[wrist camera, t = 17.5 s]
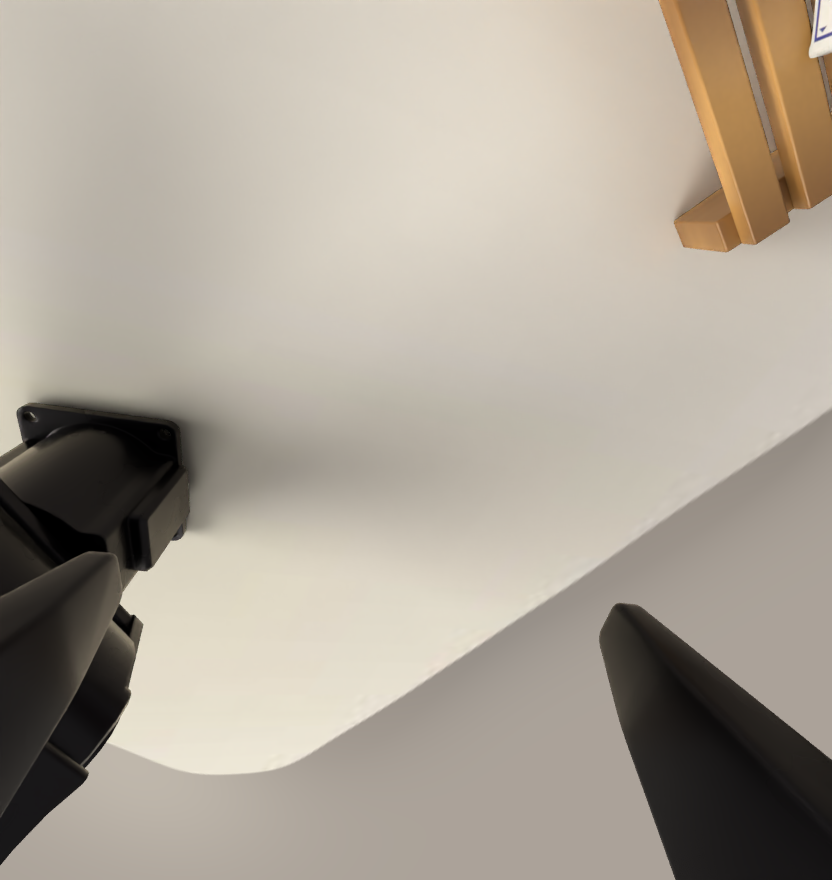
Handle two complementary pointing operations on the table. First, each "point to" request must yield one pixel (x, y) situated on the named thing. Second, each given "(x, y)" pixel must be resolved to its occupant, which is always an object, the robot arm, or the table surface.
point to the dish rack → (753, 116)
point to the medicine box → (821, 29)
